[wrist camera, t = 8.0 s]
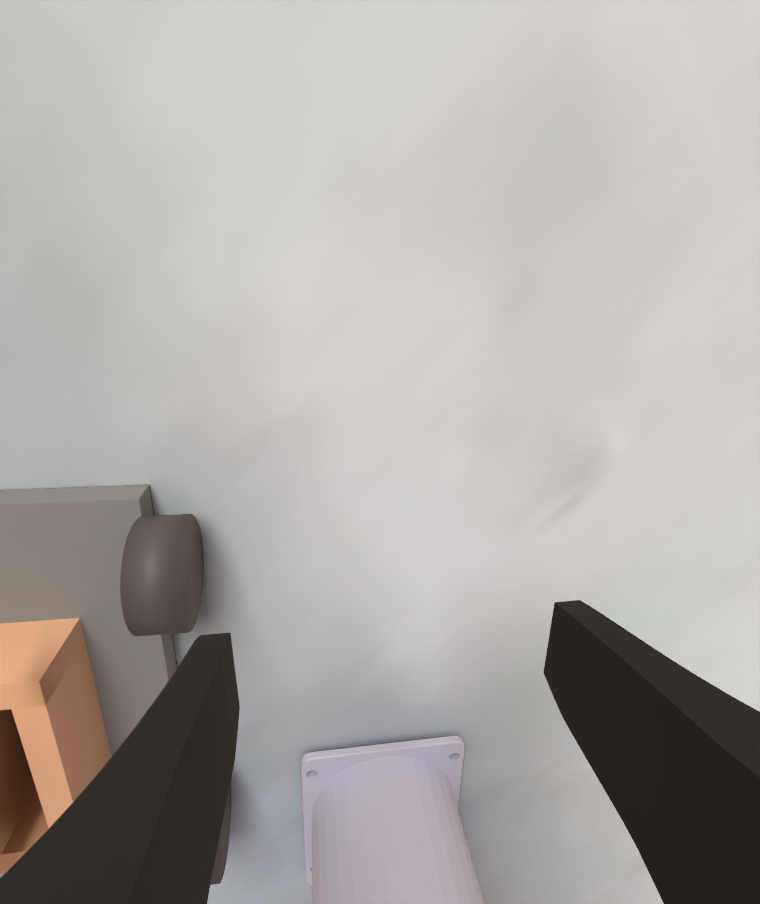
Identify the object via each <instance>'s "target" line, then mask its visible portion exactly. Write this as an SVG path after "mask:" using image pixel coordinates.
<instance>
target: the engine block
mask: <svg viewBox="0 0 760 904" xmlns="http://www.w3.org/2000/svg"><path fill="white" fill-rule="evenodd" d="M35 788H36V786H35V783H34V780H33V777H32V774H31V770H30V767H29V764H28V761H27V758H26V754H25V751H24V748H23V745H22V742H21V738H20V735H19V732H18V729H17V726H16V723H15V719H14V716H13V713H12V710H11V709H8V710H0V856H1V854H2V852H3V850H4V848H5V846H6V844H7V842H8V840H9V838H10V836H11V834H12V832H13V831H14V829H15V827H16V825H17V823H18V821H19V819H20V817H21V815H22V813H23V811H24V809H25V807H26V805H27V803H28V801H29V800H30V798H31V796H32V794H33V792H34V790H35Z"/></svg>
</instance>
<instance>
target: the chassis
mask: <svg viewBox="0 0 760 904" xmlns="http://www.w3.org/2000/svg"><path fill="white" fill-rule="evenodd" d="M202 585H203V549H202V540H201V533H200V529H199V525H198V522H197V520H196V518H195V516H194V515H192V514H183V515H161V516H154V514H153V507H152V500H151V494H150V487H149V485H126V486H98V487H70V488H43V489H15V490H0V710H8V709H11V710H12V713H13V716H14V719H15V723H16V726H17V729H18V732H19V735H20V738H21V742H22V745H23V748H24V751H25V754H26V758H27V761H28V764H29V767H30V770H31V774H32V777H33V780H34V783H35V786H36V788H35V790H34V792H33V794H32V796H31V798H30V800H29V801H28V803H27V805H26V807H25V809H24V811H23V813H22V815H21V817H20V819H19V821H18V823H17V825H16V827H15V829H14V831H13V832H12V834H11V836H10V838H9V840H8V842H7V844H6V846H5V848H4V850H3V852H2V854H1V856H0V874H1V873H6V872H7V871H8V870H9V869H10V868H11V867H12V866H13V865H14V864H15V863H16V862H17V861H18V860H19V859H20V858H21V857H22V856H23V855H24V854H25V853H26V852H27V851H28V850H29V849H30V848H31V846H32V845H33V844H34V843H35V842H36V841H37V840H38V839H39V838H40V837H41V836H42V835H43V834H44V833H45V832H46V831H47V830H48V829H49V828H50V827H51V826H52V825H53V824H54V822H55V821H56V820H57V819H58V818H59V817H60V816H61V815H62V814H63V813H64V811H65V810H66V809H67V808H68V807H69V806H70V805H71V804H72V803H73V802H74V800H75V799H76V798H77V797H78V796H79V795H80V794H81V793H82V791H83V790H84V789H85V788H86V787H87V786H88V784H89V783H90V782H91V781H92V780H93V779H94V777H95V776H96V775H97V774H98V773H99V771H100V770H101V769H102V768H103V767H104V765H105V764H106V763H107V762H108V760H109V759H110V758H111V757H112V755H113V754H114V753H115V752H116V750H117V749H118V748H119V747H120V745H121V744H122V743H123V742H124V740H125V739H126V738H127V737H128V735H129V734H130V733H131V732H132V730H133V729H134V728H135V726H136V725H137V724H138V723H139V721H140V720H141V718H142V717H143V716H144V714H145V713H146V712H147V710H148V709H149V707H150V706H151V705H152V703H153V702H154V701H155V699H156V698H157V697H158V695H159V694H160V692H161V691H162V690H163V688H164V687H165V685H166V684H167V682H168V681H169V679H170V678H171V677H172V675H173V674H174V672H175V671H176V669H177V664H176V657H175V651H174V644H173V638H172V634H176V633H188V632H190V631H191V630H192V629H193V627H194V625H195V623H196V620H197V617H198V613H199V608H200V602H201V595H202ZM230 813H231V790H230V787H229V792H228V797H227V802H226V807H225V812H224V817H223V822H222V827H221V832H220V837H219V842H218V848H217V853H216V858H215V863H214V868H213V873H212V878H211V883H210V885H212V884H219V883H220V882H221V880H222V878H223V874H224V870H225V865H226V859H227V852H228V843H229V831H230Z"/></svg>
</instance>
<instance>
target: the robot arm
mask: <svg viewBox="0 0 760 904" xmlns="http://www.w3.org/2000/svg"><path fill="white" fill-rule="evenodd" d="M544 674H545V677H546V679H547V682H548V684H549V687H550V689H551V691H552V694H553V696H554V699H555V701H556V703H557V705H558V707H559V710H560V712H561V714H562V716H563V718H564V720H565V722H566V724H567V725H568V727H569V729H570V731H571V733H572V734H573V736H574V738H575V740H576V741H577V743H578V745H579V746H580V748H581V750H582V752H583V753H584V755H585V757H586V759H587V760H588V762H589V764H590V765H591V767H592V769H593V771H594V772H595V774H596V776H597V777H598V779H599V781H600V783H601V784H602V786H603V788H604V789H605V791H606V793H607V795H608V796H609V798H610V800H611V801H612V803H613V805H614V807H615V808H616V810H617V812H618V813H619V815H620V817H621V819H622V820H623V822H624V824H625V826H626V828H627V829H628V831H629V833H630V835H631V837H632V839H633V841H634V842H635V844H636V846H637V848H638V850H639V852H640V854H641V856H642V859H643V861H644V863H645V865H646V867H647V869H648V871H649V873H650V875H651V877H652V880H653V882H654V884H655V886H656V888H657V890H658V892H659V894H660V896H661V898H662V900H663V903H664V904H760V712H759V711H757V710H755V709H753V708H752V707H750V706H748V705H746V704H744V703H743V702H741V701H739V700H737V699H735V698H734V697H732V696H730V695H728V694H727V693H725V692H723V691H722V690H720V689H718V688H717V687H715V686H713V685H712V684H710V683H708V682H706V681H705V680H703V679H701V678H700V677H698V676H696V675H695V674H693V673H692V672H690V671H688V670H687V669H685V668H684V667H682V666H680V665H679V664H677V663H676V662H674V661H672V660H671V659H669V658H668V657H666V656H665V655H663V654H662V653H660V652H659V651H657V650H655V649H654V648H652V647H651V646H649V645H648V644H646V643H645V642H643V641H642V640H640V639H639V638H637V637H636V636H634V635H633V634H631V633H630V632H628V631H627V630H625V629H624V628H622V627H621V626H619V625H618V624H616V623H615V622H613V621H612V620H610V619H609V618H607V617H606V616H604V615H603V614H601V613H600V612H598V611H596V610H595V609H593V608H592V607H590V606H589V605H587V604H585V603H584V602H582V601H580V600H577V601H567V602H556V603H555V604H554V611H553V617H552V623H551V630H550V636H549V642H548V648H547V655H546V661H545V667H544ZM239 708H240V706H239V699H238V691H237V683H236V675H235V667H234V659H233V651H232V643H231V635H230V633H222V634H212V635H201V636H199V637H198V638H197V639H196V640H195V641H194V643H193V645H192V646H191V648H190V649H189V651H188V652H187V654H186V655H185V657H184V659H183V660H182V662H181V663H180V665H179V666H178V668H177V669H176V671H175V672H174V674H173V675H172V677H171V678H170V679H169V681H168V682H167V684H166V685H165V687H164V688H163V690H162V691H161V692H160V694H159V695H158V697H157V698H156V699H155V701H154V702H153V703H152V705H151V706H150V707H149V709H148V710H147V712H146V713H145V714H144V716H143V717H142V718H141V720H140V721H139V723H138V724H137V725H136V726H135V728H134V729H133V730H132V732H131V733H130V734H129V735H128V737H127V738H126V739H125V740H124V742H123V743H122V744H121V745H120V747H119V748H118V749H117V750H116V752H115V753H114V754H113V755H112V757H111V758H110V759H109V760H108V762H107V763H106V764H105V765H104V767H103V768H102V769H101V770H100V771H99V773H98V774H97V775H96V776H95V777H94V779H93V780H92V781H91V782H90V783H89V784H88V786H87V787H86V788H85V789H84V790H83V791H82V793H81V794H80V795H79V796H78V797H77V798H76V799H75V800H74V802H73V803H72V804H71V805H70V806H69V807H68V808H67V809H66V810H65V811H64V813H63V814H62V815H61V816H60V817H59V818H58V819H57V820H56V821H55V822H54V824H53V825H52V826H51V827H50V828H49V829H48V830H47V831H46V832H45V833H44V834H43V835H42V836H41V837H40V838H39V839H38V840H37V841H36V842H35V843H34V844H33V845H32V846H31V848H30V849H29V850H28V851H27V852H26V853H25V854H24V855H23V856H22V857H21V858H20V859H19V860H18V861H17V862H16V863H15V864H14V865H13V866H12V867H11V868H10V869H9V870H8V871H7V872H6V873H5V874H4V875H3V876H2V877H1V878H0V904H207V900H208V894H209V888H210V883H211V878H212V873H213V868H214V863H215V858H216V853H217V848H218V842H219V837H220V832H221V827H222V822H223V817H224V812H225V807H226V802H227V797H228V792H229V787H230V781H231V776H232V771H233V766H234V760H235V752H236V742H237V731H238V719H239ZM464 750H465V745H464V742H463V739H462V738H461V737H459V736H446V737H438V738H429V739H420V740H412V741H403V742H394V743H386V744H377V745H368V746H360V747H351V748H342V749H333V750H325V751H316V752H310V753H307V754H305V755H304V756H303V757H302V759H301V779H302V801H303V822H304V844H305V866H306V882H307V884H308V885H309V886H312V892H313V904H484V901H483V897H482V893H481V890H480V886H479V883H478V879H477V876H476V872H475V869H474V865H473V862H472V858H471V855H470V851H469V848H468V844H467V841H466V837H465V834H464V830H463V827H462V823H461V820H460V816H459V813H458V803H459V795H460V786H461V777H462V768H463V759H464Z"/></svg>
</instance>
